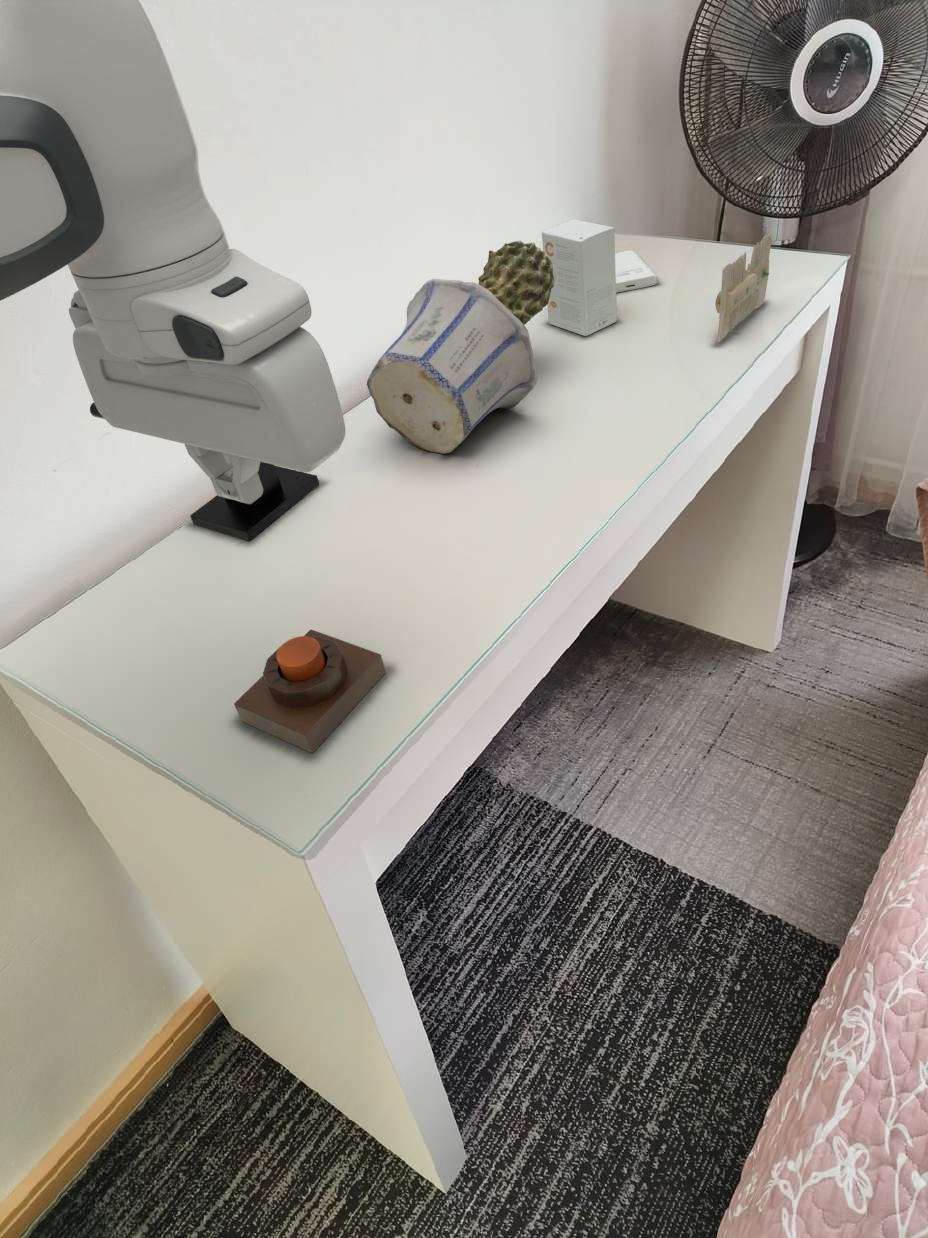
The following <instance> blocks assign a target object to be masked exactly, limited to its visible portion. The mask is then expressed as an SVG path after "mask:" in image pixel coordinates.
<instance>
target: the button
mask: <svg viewBox="0 0 928 1238" xmlns="http://www.w3.org/2000/svg"><path fill="white" fill-rule="evenodd" d="M279 647H280V646H279ZM279 647H278V648H279ZM278 648H277V649H278ZM276 657H277V661H278V663H279V666H280V668H281V671H282V673H283V675H284V677H285V678H286V679H288V680H290V681H295V682H300V681H306V680H308V679H310V678H312V677H315V676H316V675H318V674H319V673H320V672H321V671H322V669H323V667H324V665H325V659H324V656H323V653H322V650H321V647H320V644H319V642H318V641H317V640H316V639H314V638H312V637H308V636H304V635H303V636H296V637H293V638H291V639H288V640H286V641H285V642H284V643H282V645H281V647H280V648H279V649H278V651H277V655H276Z"/></svg>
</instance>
